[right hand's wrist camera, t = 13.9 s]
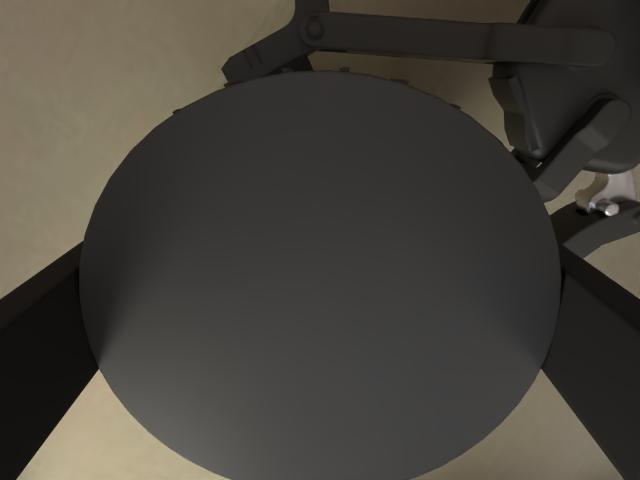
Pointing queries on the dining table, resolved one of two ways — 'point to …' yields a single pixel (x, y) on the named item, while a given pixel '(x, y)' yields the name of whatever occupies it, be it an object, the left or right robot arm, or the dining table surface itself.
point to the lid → (320, 280)
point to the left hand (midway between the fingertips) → (236, 244)
